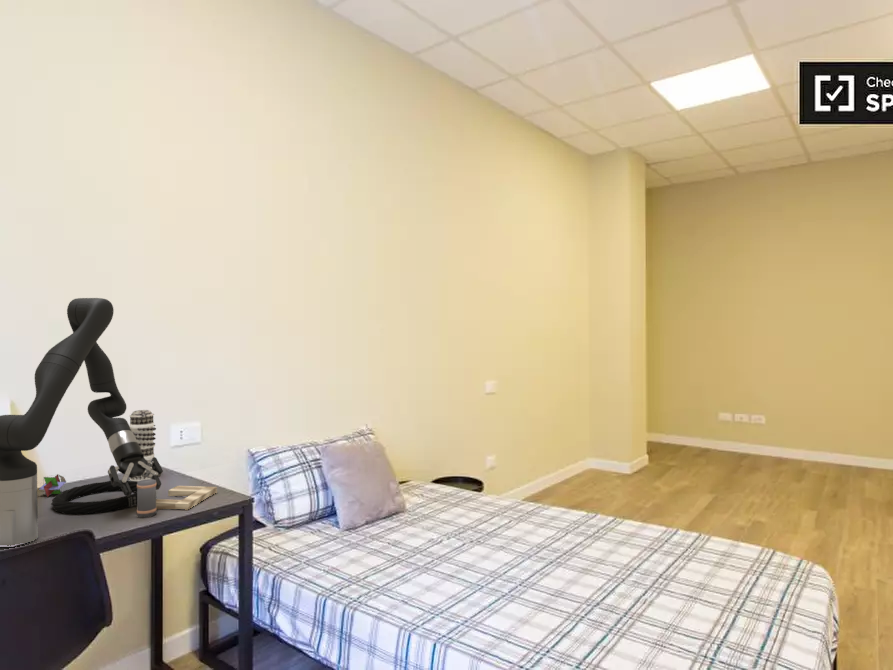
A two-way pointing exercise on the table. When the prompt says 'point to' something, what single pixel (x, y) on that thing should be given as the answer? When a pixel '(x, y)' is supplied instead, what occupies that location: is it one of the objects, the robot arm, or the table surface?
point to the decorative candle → (143, 435)
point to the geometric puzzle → (53, 485)
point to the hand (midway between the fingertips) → (144, 491)
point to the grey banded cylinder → (146, 498)
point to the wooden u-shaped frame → (194, 497)
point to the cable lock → (67, 507)
